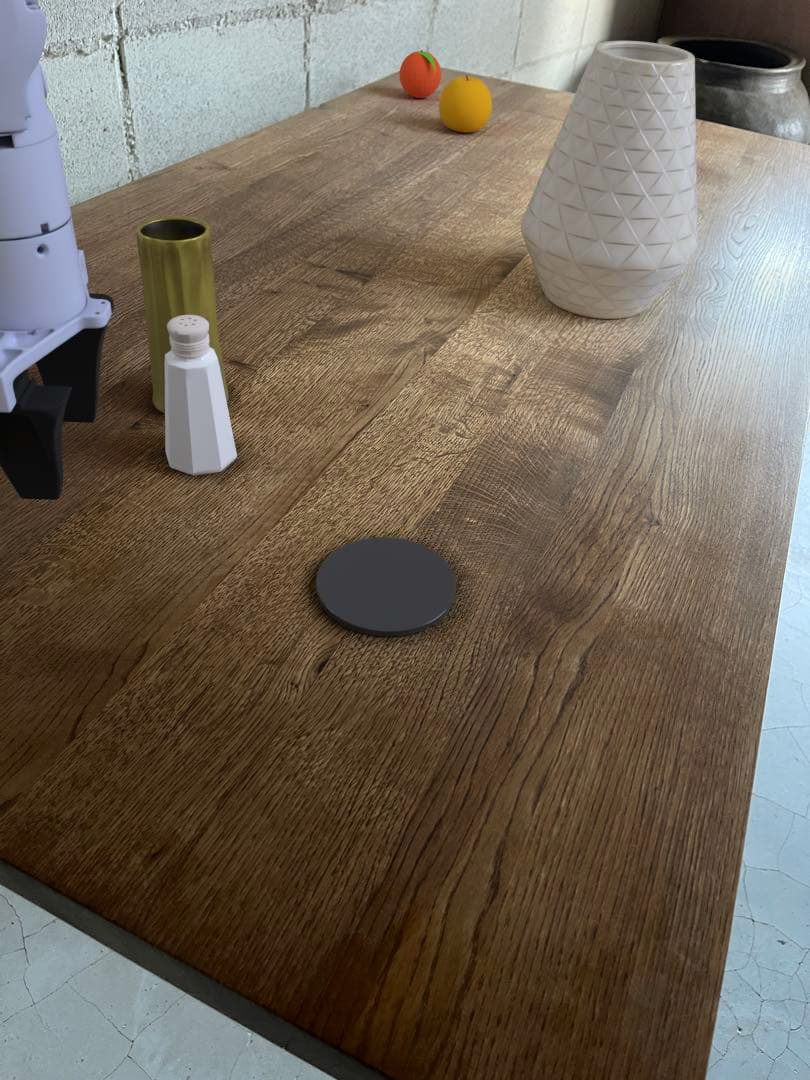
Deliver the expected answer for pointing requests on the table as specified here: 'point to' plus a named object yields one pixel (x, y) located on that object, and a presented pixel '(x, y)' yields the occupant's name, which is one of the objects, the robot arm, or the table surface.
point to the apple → (465, 104)
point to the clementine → (420, 74)
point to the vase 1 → (176, 287)
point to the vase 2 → (619, 184)
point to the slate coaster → (386, 586)
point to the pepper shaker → (195, 401)
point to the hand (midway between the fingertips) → (60, 455)
